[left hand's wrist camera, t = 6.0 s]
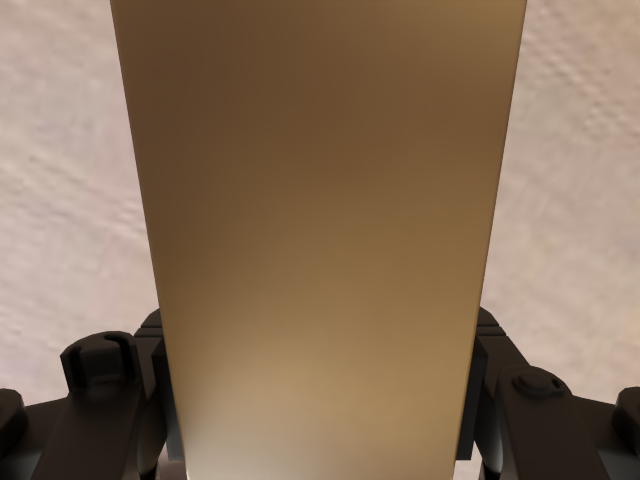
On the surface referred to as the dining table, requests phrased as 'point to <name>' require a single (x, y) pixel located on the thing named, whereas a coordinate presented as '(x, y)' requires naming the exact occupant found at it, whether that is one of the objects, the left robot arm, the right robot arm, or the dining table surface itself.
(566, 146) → the dining table surface
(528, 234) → the dining table surface
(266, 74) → the beam
